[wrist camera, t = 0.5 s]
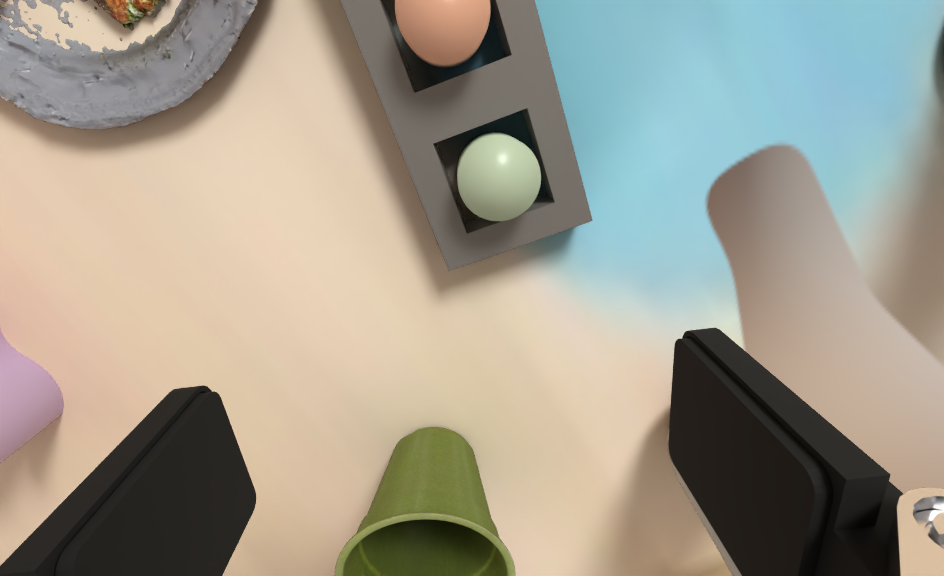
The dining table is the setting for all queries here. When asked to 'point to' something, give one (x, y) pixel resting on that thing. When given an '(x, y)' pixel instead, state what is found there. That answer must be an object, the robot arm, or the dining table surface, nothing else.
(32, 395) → the clip
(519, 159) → the sage button
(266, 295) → the dining table surface
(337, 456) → the dining table surface
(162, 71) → the food plate
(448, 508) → the plant pot
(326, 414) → the dining table surface
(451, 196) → the button panel
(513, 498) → the dining table surface
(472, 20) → the peach rounded dome
